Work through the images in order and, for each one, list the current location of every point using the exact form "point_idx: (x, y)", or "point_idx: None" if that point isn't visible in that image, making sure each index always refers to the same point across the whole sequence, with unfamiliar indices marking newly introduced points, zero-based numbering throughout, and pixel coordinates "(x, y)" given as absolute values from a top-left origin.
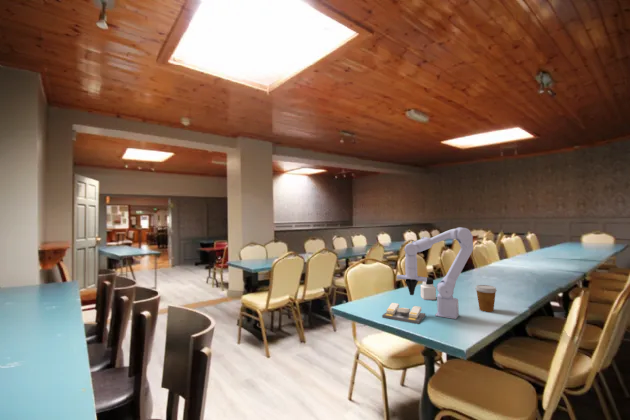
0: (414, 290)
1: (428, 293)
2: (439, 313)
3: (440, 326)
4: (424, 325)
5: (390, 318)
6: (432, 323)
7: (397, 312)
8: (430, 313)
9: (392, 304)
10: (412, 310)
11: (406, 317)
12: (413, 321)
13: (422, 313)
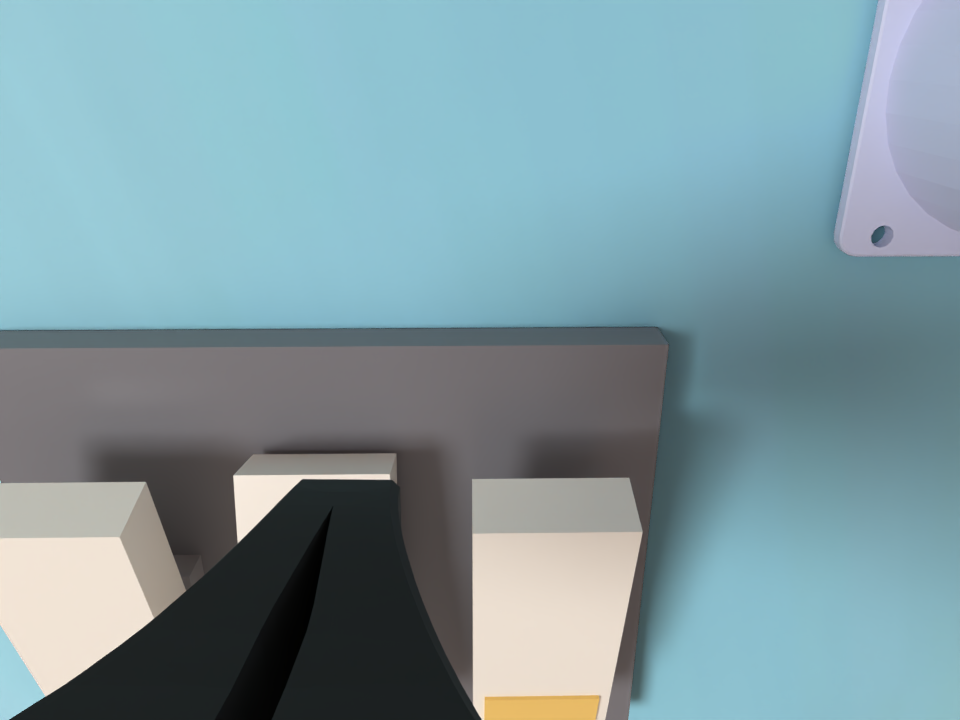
0: (407, 563)
1: None
2: (941, 216)
3: (912, 651)
4: (707, 708)
5: None
6: (803, 600)
7: (200, 533)
8: (725, 110)
9: (18, 590)
10: (499, 653)
11: None
12: None
13: (616, 373)
